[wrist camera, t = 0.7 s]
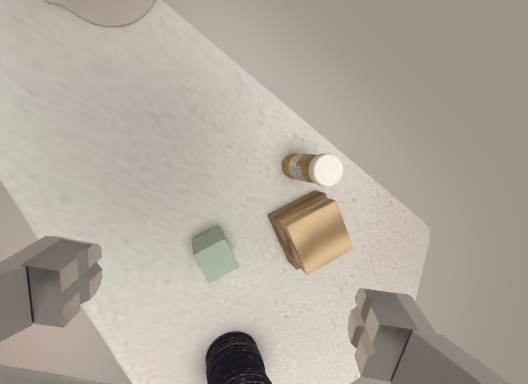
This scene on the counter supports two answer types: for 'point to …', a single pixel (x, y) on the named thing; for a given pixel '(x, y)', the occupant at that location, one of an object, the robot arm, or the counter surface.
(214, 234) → the sage block
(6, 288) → the robot arm
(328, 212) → the oak block
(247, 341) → the storage jar
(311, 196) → the walnut block
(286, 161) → the sprinkles bottle
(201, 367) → the counter surface
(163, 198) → the counter surface
